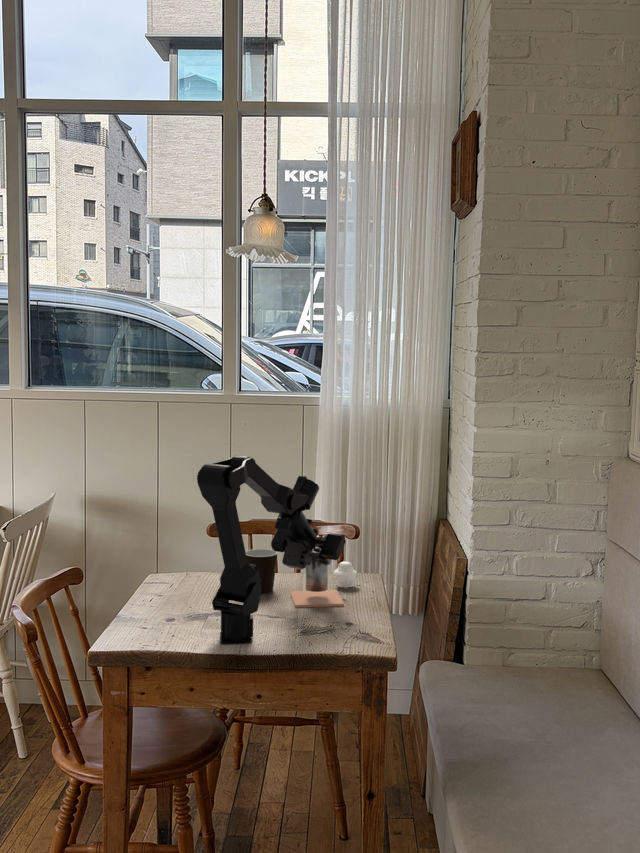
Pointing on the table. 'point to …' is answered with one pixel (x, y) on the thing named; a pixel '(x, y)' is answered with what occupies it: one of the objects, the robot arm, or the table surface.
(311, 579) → the press pot
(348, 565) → the muffin
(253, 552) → the coffee mug
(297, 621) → the table surface
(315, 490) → the robot arm
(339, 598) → the plate
